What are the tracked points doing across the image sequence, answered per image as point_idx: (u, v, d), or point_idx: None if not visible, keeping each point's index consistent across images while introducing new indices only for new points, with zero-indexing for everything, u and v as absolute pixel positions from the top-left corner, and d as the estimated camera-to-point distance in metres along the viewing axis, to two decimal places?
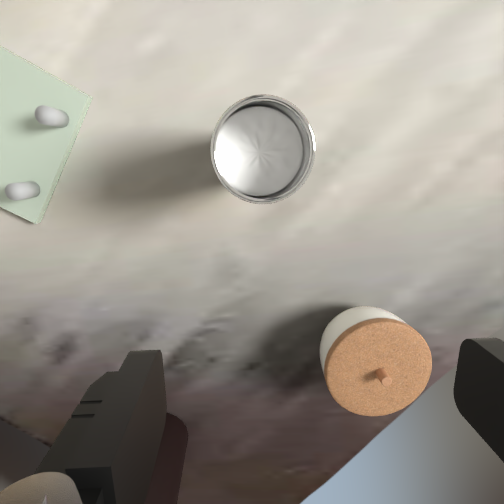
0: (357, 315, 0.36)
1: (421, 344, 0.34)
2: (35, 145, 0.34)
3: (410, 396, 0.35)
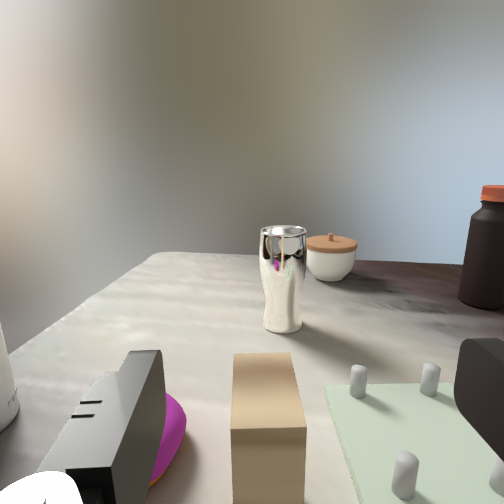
0: (317, 259, 0.69)
1: (307, 239, 0.74)
2: (394, 400, 0.36)
3: None
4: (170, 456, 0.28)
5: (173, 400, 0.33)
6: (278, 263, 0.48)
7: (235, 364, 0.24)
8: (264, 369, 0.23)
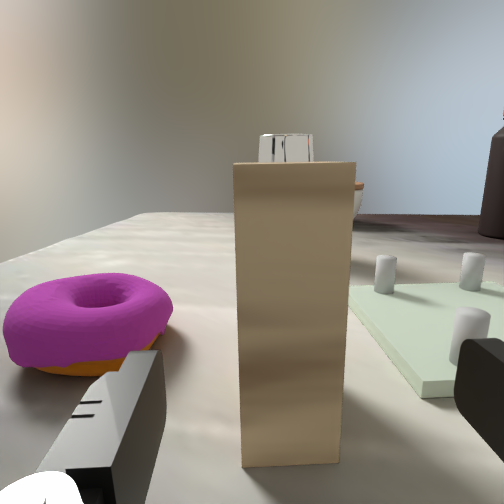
0: None
1: None
2: (430, 294, 0.29)
3: None
4: (150, 332, 0.21)
5: (156, 285, 0.26)
6: None
7: None
8: (278, 162, 0.16)
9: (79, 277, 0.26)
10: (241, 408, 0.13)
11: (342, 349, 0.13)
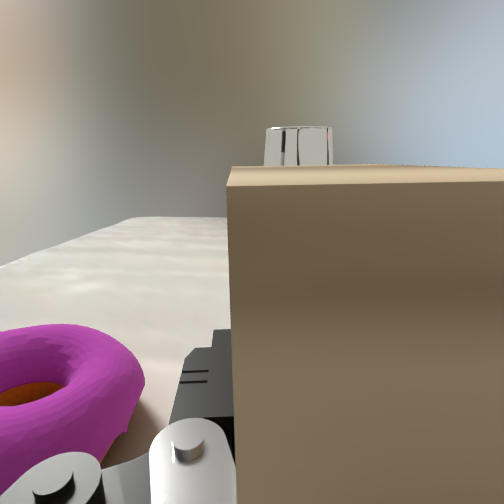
0: None
1: None
2: None
3: None
4: (97, 448, 0.13)
5: (120, 345, 0.17)
6: None
7: (237, 168, 0.08)
8: None
9: (5, 335, 0.17)
10: None
11: None
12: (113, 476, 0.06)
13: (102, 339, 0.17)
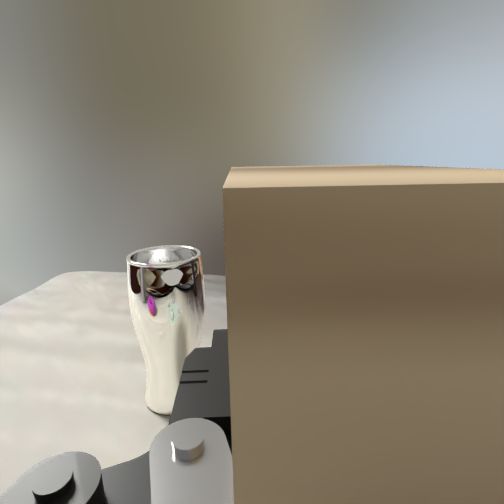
0: None
1: None
2: None
3: None
4: None
5: None
6: (148, 310, 0.30)
7: (236, 168, 0.08)
8: (327, 167, 0.08)
9: None
10: None
11: None
12: (113, 476, 0.06)
13: None
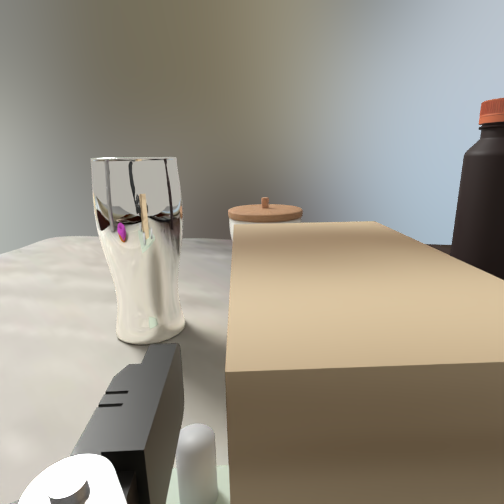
0: None
1: (234, 207, 0.52)
2: None
3: None
4: None
5: None
6: (113, 213, 0.26)
7: (238, 234, 0.09)
8: (324, 238, 0.08)
9: None
10: None
11: None
12: None
13: None
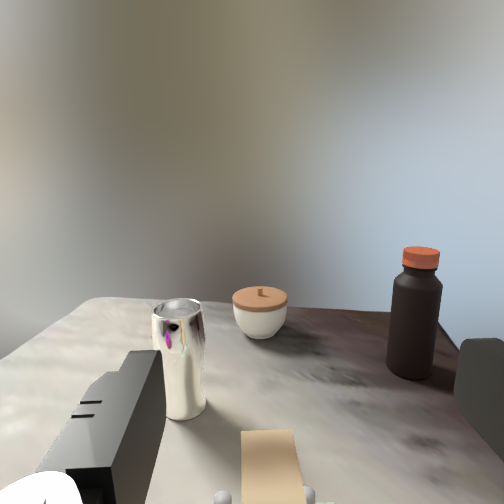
0: (243, 317, 0.65)
1: (237, 292, 0.70)
2: None
3: (262, 287, 0.72)
4: None
5: None
6: (166, 348, 0.43)
7: (242, 444, 0.26)
8: (269, 449, 0.25)
9: None
10: None
11: None
12: None
13: None
